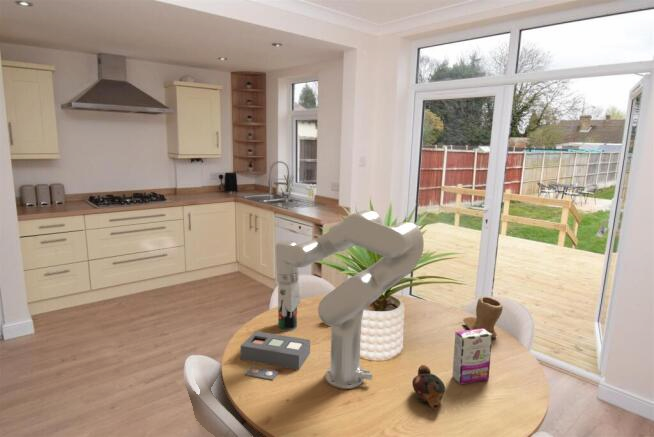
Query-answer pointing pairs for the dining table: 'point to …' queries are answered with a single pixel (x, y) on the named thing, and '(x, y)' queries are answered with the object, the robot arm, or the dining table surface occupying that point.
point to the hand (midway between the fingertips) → (289, 326)
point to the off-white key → (294, 346)
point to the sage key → (276, 343)
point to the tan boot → (485, 315)
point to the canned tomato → (282, 325)
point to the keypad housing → (275, 350)
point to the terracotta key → (258, 341)
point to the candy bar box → (472, 355)
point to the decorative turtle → (428, 387)
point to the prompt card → (261, 373)
